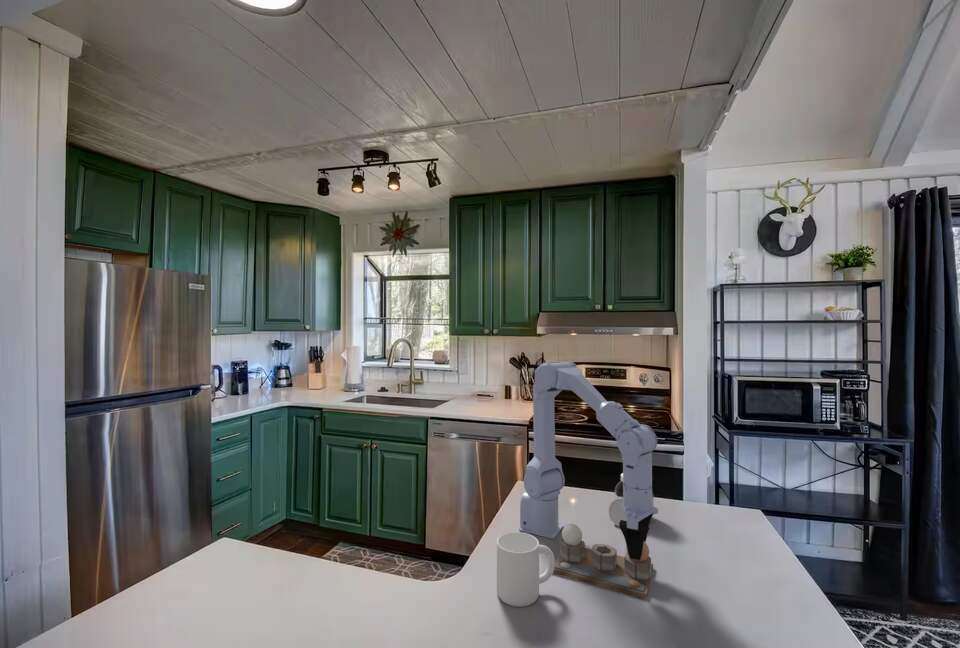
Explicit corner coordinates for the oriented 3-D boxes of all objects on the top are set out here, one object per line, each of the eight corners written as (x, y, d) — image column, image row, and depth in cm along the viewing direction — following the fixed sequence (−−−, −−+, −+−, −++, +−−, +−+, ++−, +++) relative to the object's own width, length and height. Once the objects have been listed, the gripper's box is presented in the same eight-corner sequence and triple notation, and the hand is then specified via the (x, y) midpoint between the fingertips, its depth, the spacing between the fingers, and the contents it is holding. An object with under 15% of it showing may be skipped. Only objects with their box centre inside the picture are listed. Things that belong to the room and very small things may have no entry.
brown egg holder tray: (551, 572, 91) (551, 553, 91) (567, 547, 102) (567, 530, 102) (646, 599, 82) (646, 578, 82) (653, 568, 93) (653, 550, 93)
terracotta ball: (624, 563, 89) (624, 541, 89) (628, 552, 93) (628, 532, 93) (647, 568, 87) (647, 546, 87) (650, 558, 91) (650, 536, 91)
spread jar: (651, 514, 120) (650, 472, 120) (658, 533, 109) (658, 487, 109) (606, 510, 123) (606, 469, 123) (609, 528, 112) (609, 483, 112)
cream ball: (559, 546, 95) (559, 526, 95) (565, 538, 99) (565, 518, 99) (579, 551, 93) (579, 531, 93) (584, 542, 97) (584, 522, 97)
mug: (546, 577, 90) (546, 527, 90) (564, 601, 82) (563, 547, 82) (491, 585, 87) (491, 534, 87) (504, 611, 79) (504, 555, 79)
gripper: (653, 500, 82) (654, 572, 81) (661, 477, 94) (661, 539, 94) (615, 493, 85) (616, 562, 85) (627, 472, 98) (628, 532, 98)
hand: (637, 549), depth 90 cm, fingers open, 7 cm apart
